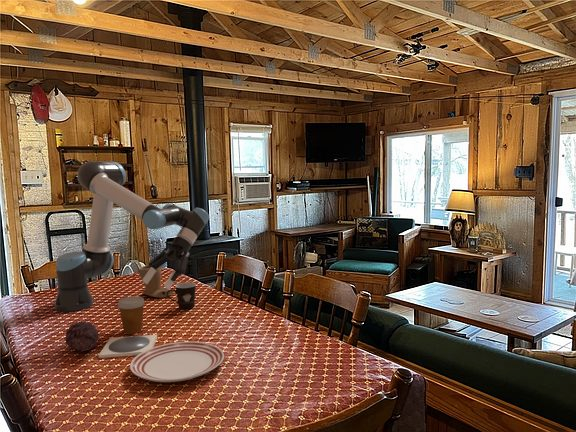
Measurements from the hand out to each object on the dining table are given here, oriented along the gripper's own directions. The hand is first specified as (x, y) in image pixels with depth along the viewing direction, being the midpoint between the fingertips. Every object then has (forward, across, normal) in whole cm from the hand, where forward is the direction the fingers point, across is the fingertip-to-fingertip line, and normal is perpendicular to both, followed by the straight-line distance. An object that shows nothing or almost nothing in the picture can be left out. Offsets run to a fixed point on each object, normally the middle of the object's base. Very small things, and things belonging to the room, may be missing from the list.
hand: (155, 285), depth 166 cm
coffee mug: (-2, +6, -23) cm, 24 cm away
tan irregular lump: (-5, +31, -26) cm, 41 cm away
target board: (+25, -12, +3) cm, 28 cm away
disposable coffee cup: (+18, 0, -3) cm, 18 cm away
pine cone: (+32, -2, +11) cm, 34 cm away
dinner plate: (+25, -37, +3) cm, 45 cm away
